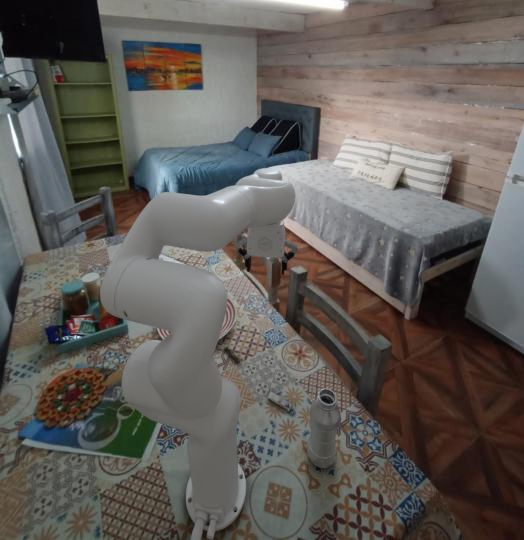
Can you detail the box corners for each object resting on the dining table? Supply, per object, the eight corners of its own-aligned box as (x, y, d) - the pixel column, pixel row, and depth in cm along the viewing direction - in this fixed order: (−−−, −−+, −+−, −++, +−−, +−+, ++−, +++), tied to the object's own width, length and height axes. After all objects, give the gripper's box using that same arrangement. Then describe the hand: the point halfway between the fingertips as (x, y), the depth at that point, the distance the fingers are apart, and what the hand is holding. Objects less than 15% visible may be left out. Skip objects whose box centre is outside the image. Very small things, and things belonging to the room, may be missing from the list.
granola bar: (266, 399, 85) (266, 396, 85) (270, 392, 87) (270, 389, 87) (288, 412, 82) (288, 410, 82) (292, 405, 84) (292, 402, 83)
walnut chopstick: (240, 362, 96) (240, 359, 96) (238, 364, 95) (237, 361, 95) (226, 348, 101) (226, 346, 100) (224, 350, 100) (223, 347, 100)
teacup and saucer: (159, 275, 136) (157, 267, 134) (146, 269, 139) (145, 262, 138) (174, 265, 143) (173, 257, 141) (162, 260, 146) (161, 252, 145)
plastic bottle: (335, 476, 69) (344, 415, 62) (305, 468, 71) (310, 408, 63) (335, 444, 75) (343, 385, 68) (307, 437, 77) (312, 379, 69)
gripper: (231, 219, 80) (233, 275, 86) (299, 224, 78) (296, 281, 84) (237, 207, 87) (238, 260, 93) (300, 211, 85) (297, 265, 91)
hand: (266, 270), depth 89 cm, fingers open, 9 cm apart
